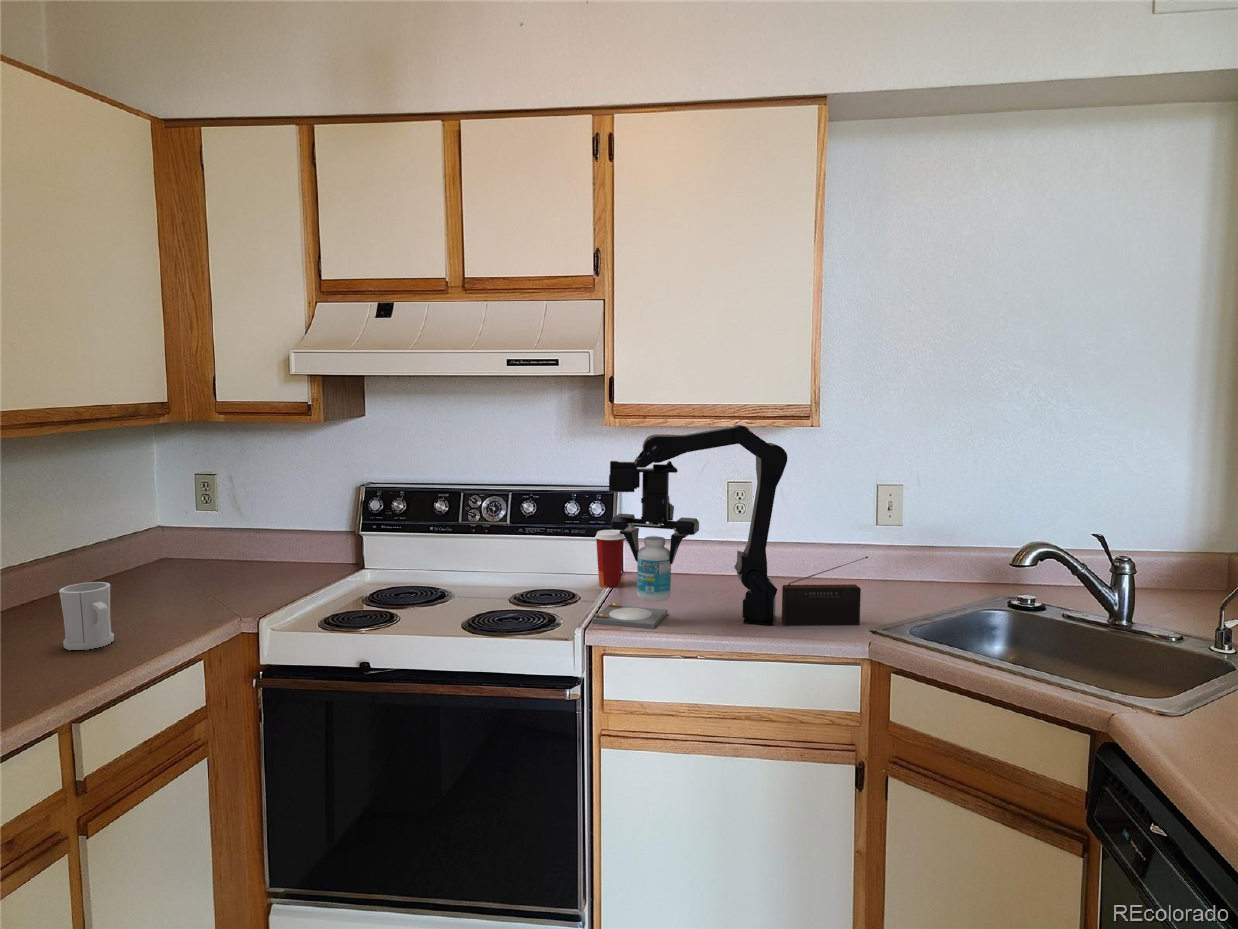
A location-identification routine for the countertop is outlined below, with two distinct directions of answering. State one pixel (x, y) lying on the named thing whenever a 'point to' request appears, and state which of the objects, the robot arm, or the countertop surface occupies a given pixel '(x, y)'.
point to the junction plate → (630, 616)
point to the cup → (86, 615)
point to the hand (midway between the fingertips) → (654, 562)
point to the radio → (821, 604)
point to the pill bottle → (654, 570)
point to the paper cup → (609, 557)
